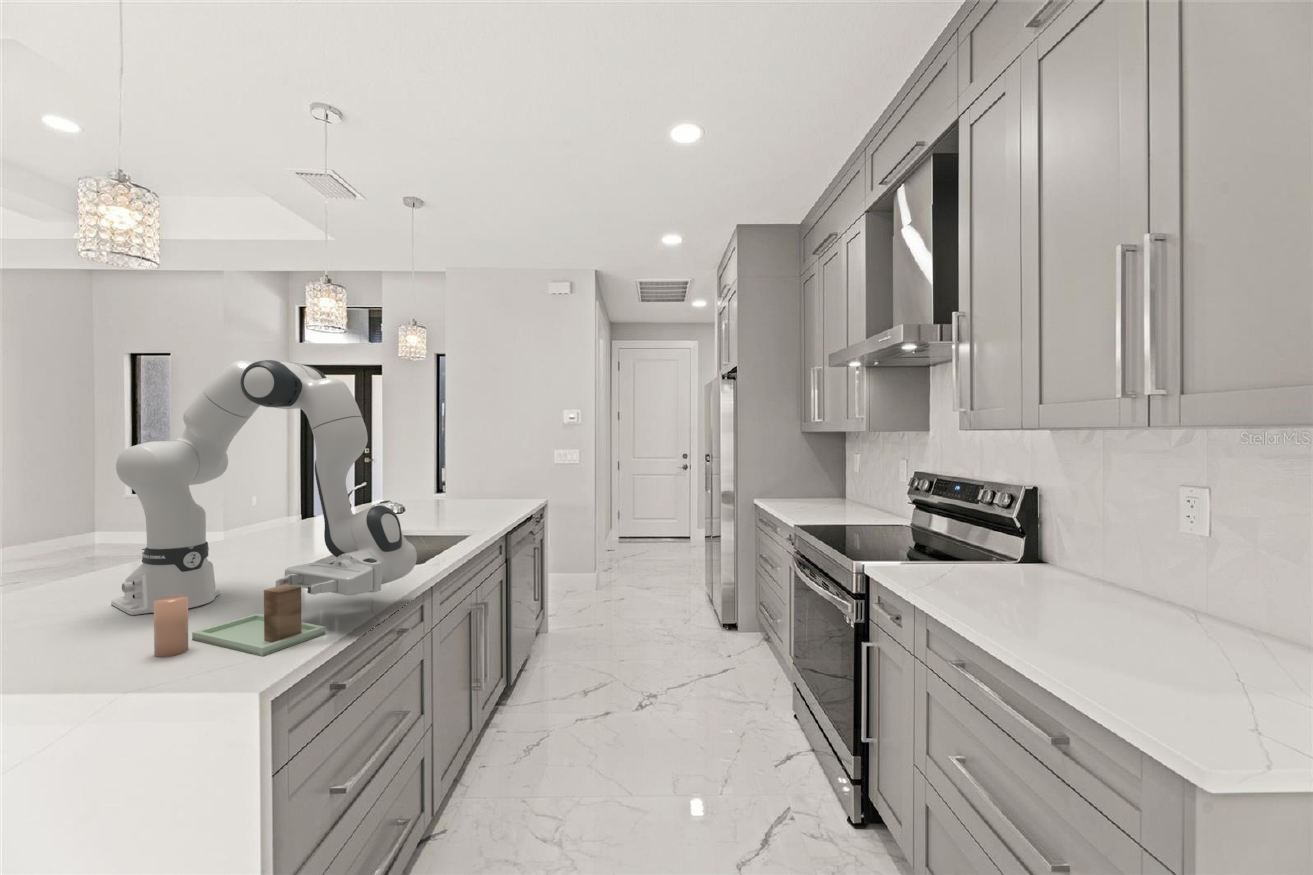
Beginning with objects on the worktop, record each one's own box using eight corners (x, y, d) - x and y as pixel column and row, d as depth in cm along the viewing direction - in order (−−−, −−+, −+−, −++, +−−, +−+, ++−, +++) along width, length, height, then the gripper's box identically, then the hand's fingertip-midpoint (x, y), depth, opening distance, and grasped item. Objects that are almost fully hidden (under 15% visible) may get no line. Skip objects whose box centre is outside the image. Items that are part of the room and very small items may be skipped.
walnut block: (264, 640, 118) (263, 590, 118) (286, 633, 122) (285, 584, 122) (279, 644, 116) (279, 592, 116) (301, 636, 120) (301, 586, 120)
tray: (192, 639, 120) (192, 632, 120) (257, 620, 132) (257, 613, 132) (262, 656, 112) (262, 648, 112) (325, 633, 124) (325, 626, 124)
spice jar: (148, 654, 112) (147, 601, 112) (178, 645, 117) (177, 594, 117) (164, 658, 110) (163, 604, 110) (194, 649, 115) (193, 597, 115)
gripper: (320, 553, 138) (259, 566, 125) (386, 562, 130) (328, 577, 117) (319, 581, 138) (259, 596, 125) (386, 591, 130) (328, 609, 117)
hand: (293, 587), depth 121 cm, fingers open, 8 cm apart
